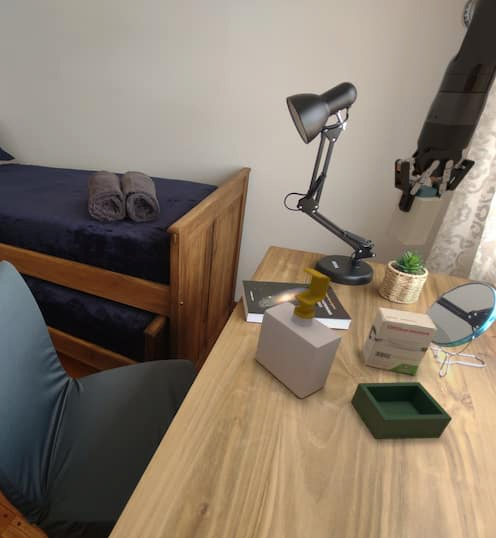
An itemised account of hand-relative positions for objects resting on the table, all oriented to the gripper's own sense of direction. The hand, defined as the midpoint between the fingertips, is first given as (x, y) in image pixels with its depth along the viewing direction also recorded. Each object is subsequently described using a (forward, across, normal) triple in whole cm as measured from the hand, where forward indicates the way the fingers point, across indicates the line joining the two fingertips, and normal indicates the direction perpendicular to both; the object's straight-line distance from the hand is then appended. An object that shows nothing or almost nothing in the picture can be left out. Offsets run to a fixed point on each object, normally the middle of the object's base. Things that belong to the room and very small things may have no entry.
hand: (415, 210), depth 72 cm
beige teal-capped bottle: (+6, 0, 0) cm, 6 cm away
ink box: (+27, -6, -15) cm, 32 cm away
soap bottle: (+27, -27, -17) cm, 42 cm away
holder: (+27, -13, -28) cm, 41 cm away
